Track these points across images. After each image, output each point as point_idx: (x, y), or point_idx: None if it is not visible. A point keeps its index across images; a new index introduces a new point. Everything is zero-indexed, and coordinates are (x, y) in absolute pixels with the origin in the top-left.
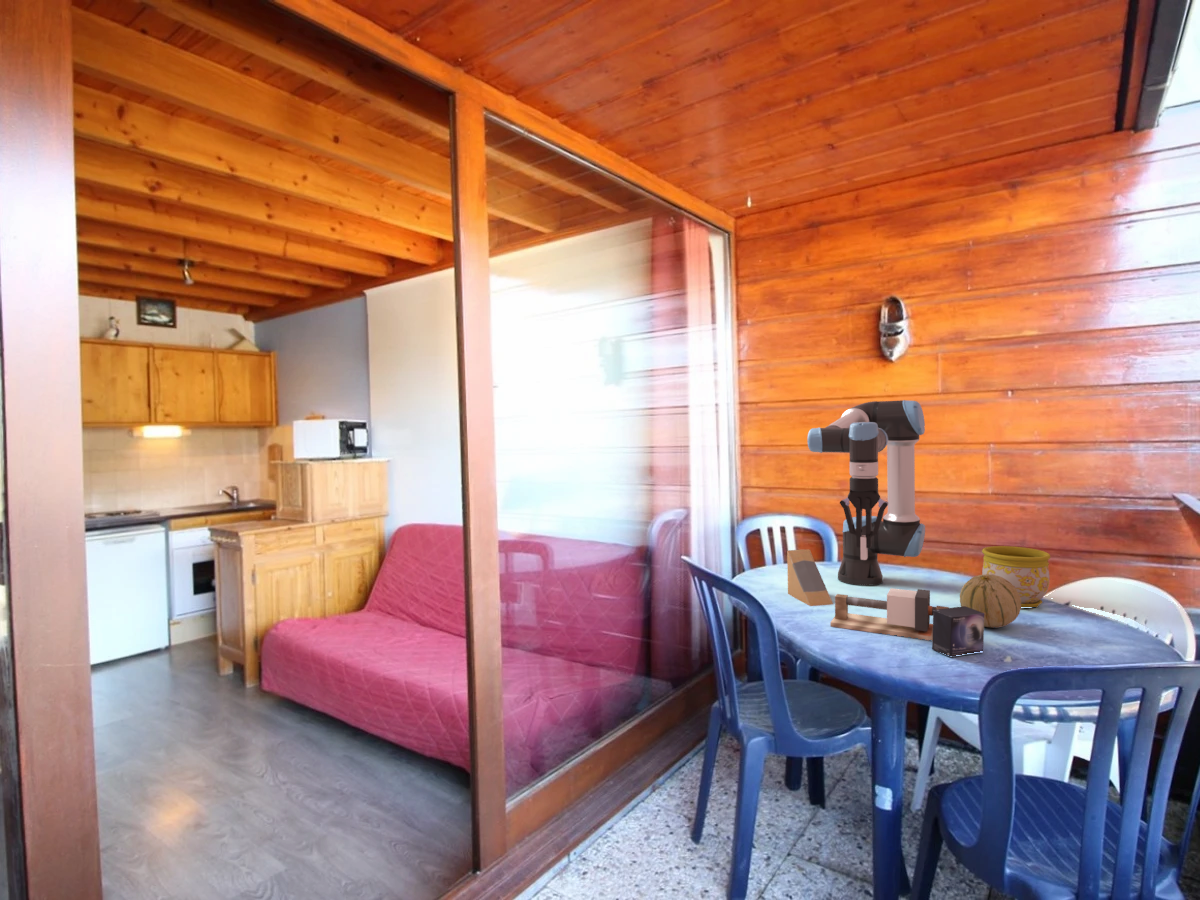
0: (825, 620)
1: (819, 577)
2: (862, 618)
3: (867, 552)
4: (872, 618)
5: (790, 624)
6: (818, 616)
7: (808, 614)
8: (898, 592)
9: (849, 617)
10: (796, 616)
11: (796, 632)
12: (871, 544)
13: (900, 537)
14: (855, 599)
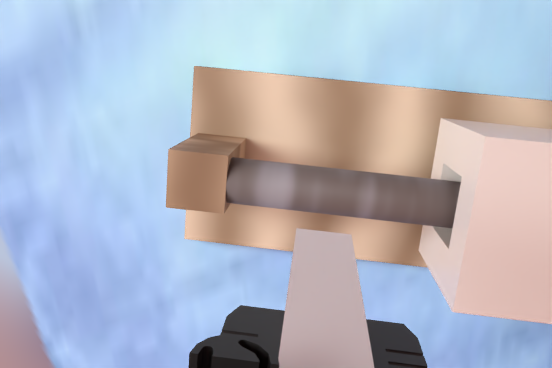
0: (157, 157)
1: None
2: (310, 133)
3: (354, 263)
4: (354, 117)
5: (40, 261)
6: (119, 108)
7: (73, 93)
8: (527, 229)
9: (253, 140)
10: (34, 144)
11: (84, 345)
12: (419, 352)
13: None
14: (274, 205)
